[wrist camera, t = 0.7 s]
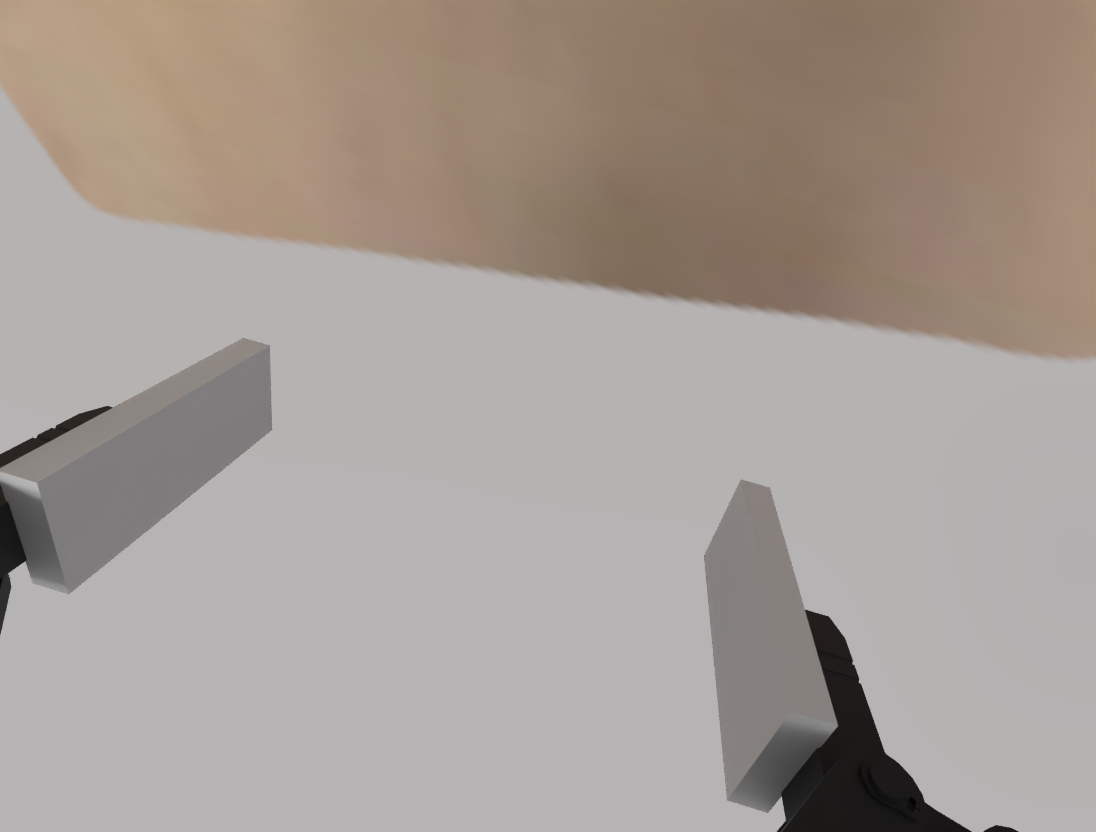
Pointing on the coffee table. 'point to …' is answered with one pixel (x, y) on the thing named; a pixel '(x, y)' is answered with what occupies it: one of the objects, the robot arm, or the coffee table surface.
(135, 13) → the coffee table surface
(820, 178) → the coffee table surface
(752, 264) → the coffee table surface
